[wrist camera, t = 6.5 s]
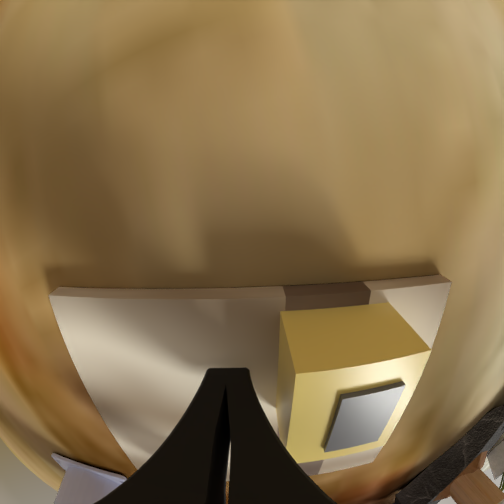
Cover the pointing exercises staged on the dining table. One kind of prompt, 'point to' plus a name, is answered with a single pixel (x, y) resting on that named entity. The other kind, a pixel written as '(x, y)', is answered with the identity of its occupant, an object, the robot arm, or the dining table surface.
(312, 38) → the dining table surface
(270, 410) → the striped beige square plate
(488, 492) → the hammer
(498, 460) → the house plant
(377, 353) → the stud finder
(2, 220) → the dining table surface
